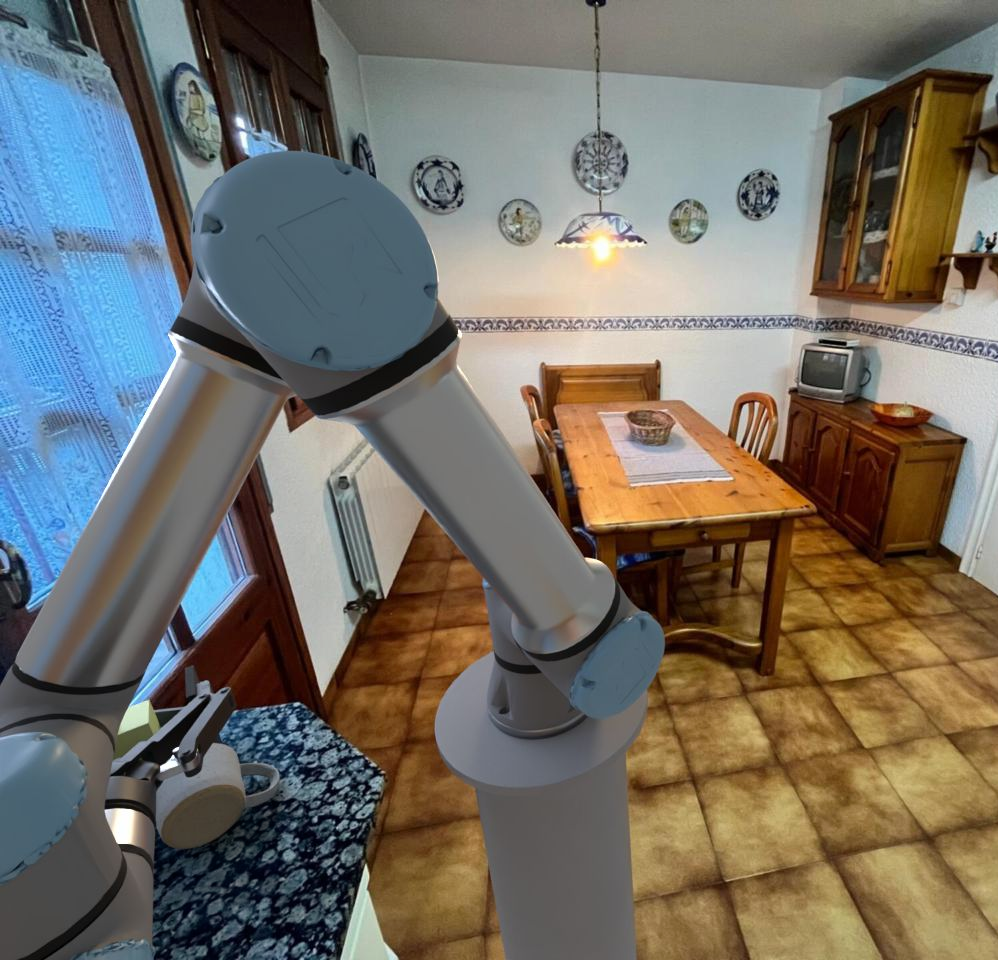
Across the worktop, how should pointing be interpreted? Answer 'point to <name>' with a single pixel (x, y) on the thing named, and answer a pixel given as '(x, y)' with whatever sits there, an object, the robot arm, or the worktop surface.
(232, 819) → the ceramic mug
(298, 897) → the worktop surface
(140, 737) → the juice box
